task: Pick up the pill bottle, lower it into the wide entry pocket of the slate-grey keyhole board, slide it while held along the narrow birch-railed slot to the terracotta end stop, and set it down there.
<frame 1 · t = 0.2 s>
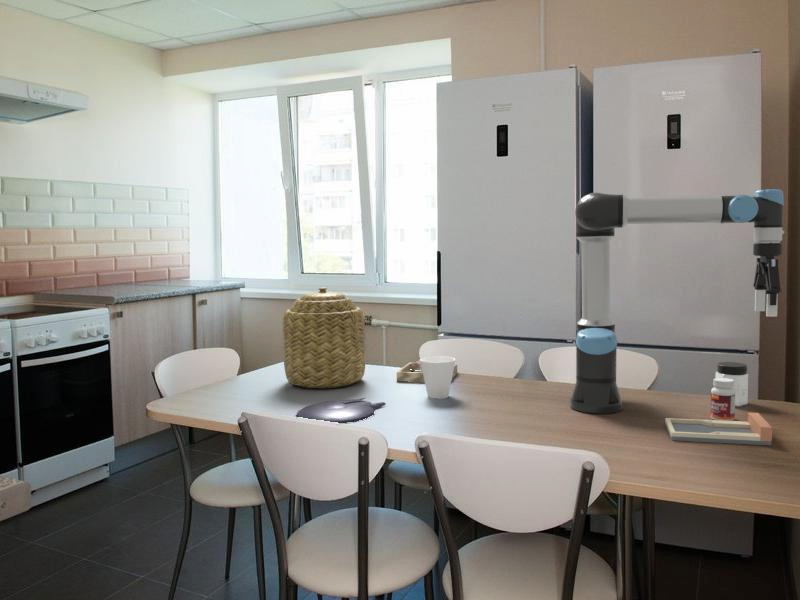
hand: (765, 313, 205), 28 cm above the table, fingers open, 13 cm apart
cup: (438, 396, 227), on the table
jar: (731, 403, 210), on the table
birch tray rim: (427, 377, 257), on the table
basket: (325, 382, 252), on the table
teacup: (427, 378, 257), resting in birch tray rim
pill bottle: (722, 420, 192), on the table
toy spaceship: (341, 414, 209), on the table
keyhole board: (715, 434, 178), on the table
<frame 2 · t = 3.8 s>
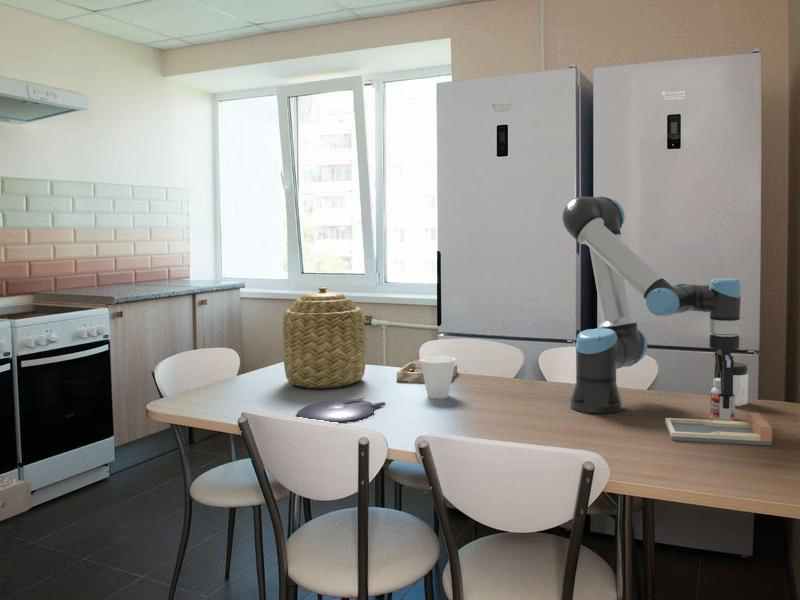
hand: (722, 415, 192), 1 cm above the table, fingers closed on pill bottle, 6 cm apart
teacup: (423, 378, 257), resting in birch tray rim
pill bottle: (722, 419, 192), on the table, touching gripper
everything else where it was.
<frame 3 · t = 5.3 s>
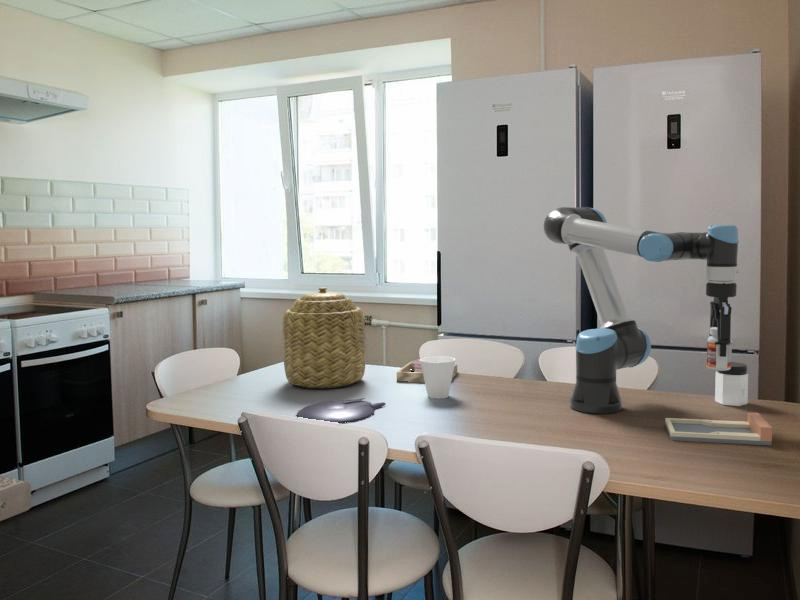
hand: (718, 365, 189), 16 cm above the table, fingers closed on pill bottle, 6 cm apart
pill bottle: (718, 369, 189), point 15 cm above the table, touching gripper
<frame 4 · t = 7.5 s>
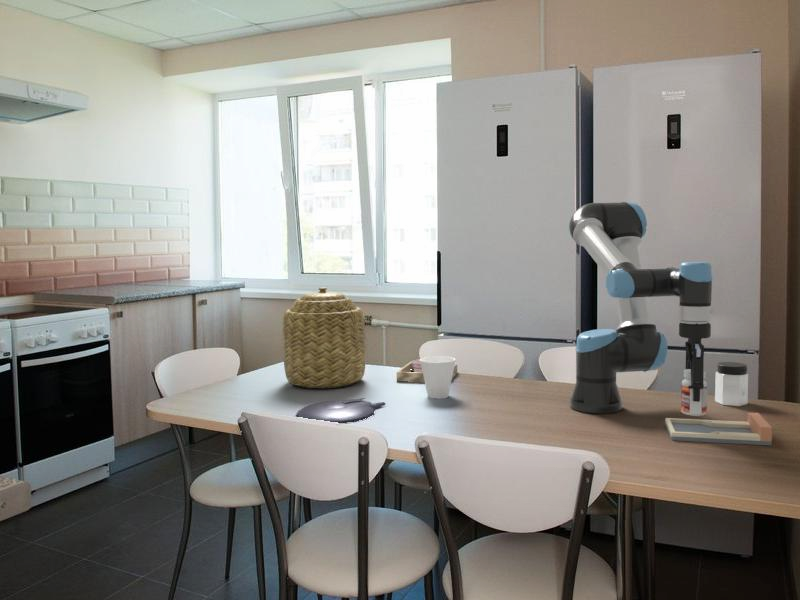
hand: (693, 409, 179), 6 cm above the table, fingers closed on pill bottle, 6 cm apart
pill bottle: (693, 414, 179), point 5 cm above the table, touching gripper
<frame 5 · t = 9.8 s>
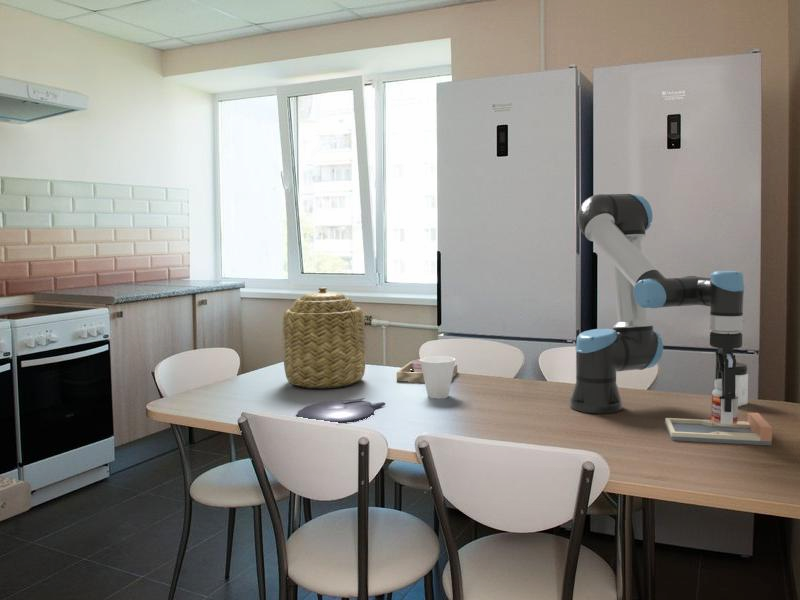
hand: (724, 420, 177), 4 cm above the table, fingers closed on pill bottle, 6 cm apart
pill bottle: (724, 424, 177), point 3 cm above the table, touching gripper
everything else where it was.
when the fingers open (3 cm above the table, at t = 11.4 s): pill bottle stays where it is, resting on keyhole board.
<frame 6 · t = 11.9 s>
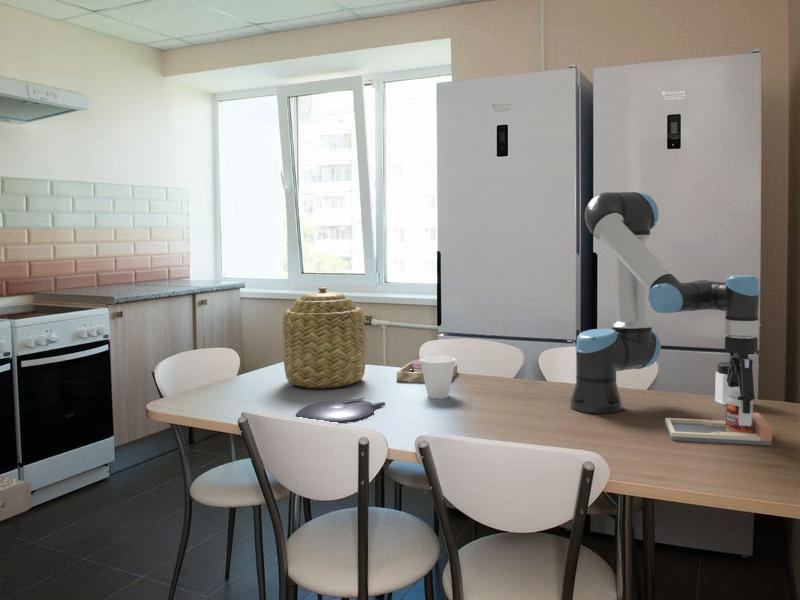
hand: (739, 418, 176), 5 cm above the table, fingers open, 13 cm apart
pill bottle: (738, 432, 177), point 1 cm above the table, touching keyhole board
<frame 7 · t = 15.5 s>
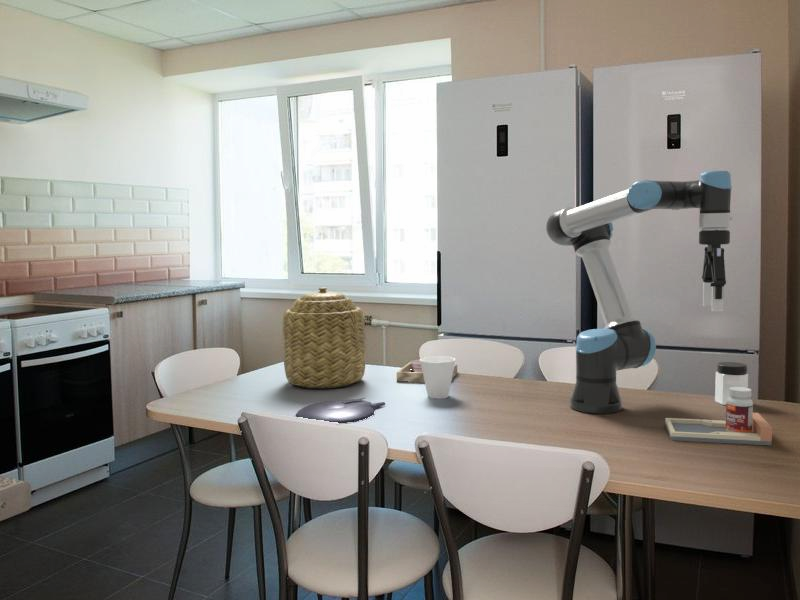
hand: (712, 308, 186), 32 cm above the table, fingers open, 13 cm apart
at the end: pill bottle inside the target area (0.7 cm from its centre), point 0.8 cm above the table; pill bottle tilted 0°; the gripper is holding nothing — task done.
